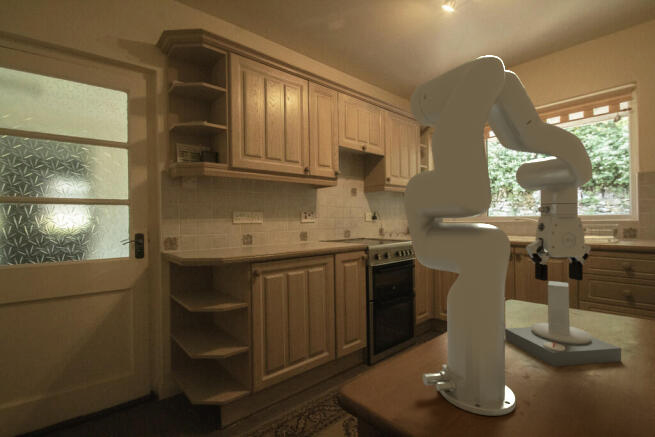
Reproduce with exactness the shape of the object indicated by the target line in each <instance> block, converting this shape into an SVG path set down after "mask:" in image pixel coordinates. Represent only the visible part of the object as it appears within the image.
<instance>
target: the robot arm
mask: <svg viewBox="0 0 655 437" xmlns="http://www.w3.org/2000/svg"><path fill="white" fill-rule="evenodd" d="M409 109H410V112H411V114H412V117H413V118H414V119H415V121H416V122H418V124H420V125H423V126H425V127H431V128H433V131H432V135H431V140H430V141H431V142H430V147H431V153H432V162H433V169H431V170H425V171H422V172H419V173H416V174H414V175H413V176H412V177H411V178H410V179H409V180H408V182H407V184H406V186H405V189H404V194H403V201H404V202H403V204H404V205H403V206H404V209H405V210H404V211H405V215H406V219H407V220H406V221H407V225H408V231H409V235H410V240H411V244H412V248H413V253H414V254H415V255H414V256H415V257H416V259H417V261H418V262H419V263H420V264H421V266H424V267H426V268H428V269H431V270H432V269H433V270H438V271H444V272H452V273H455V274H458V276H457V278H456V279H455V281H454V282H453V284H452V285H451V287H450V288H449V290H448V293H447V296H446V321H447V322H446V324H447V326H446V327H447V328H446V329H447V331H446V332H447V333H446V334H447V336H446V337H447V342H446V343H447V344H446V345H447V350H446V351H447V364H442V365H441V368H442V370H439V371H438V372H435V373H434V372H429V373H423V374H422V382H423V384H424V385H425V386H434V385H435V389H436V390H437V391H438V392H440V394H441V395H442V396H443V397H444V399H445V400H447V401H448V402H449V403H450V404H452V405H454V406H455V407H458V408H459V409H462V410H464V411H467V412H470V413H473V414H477V415H483V416H492V417H493V416H494V417H495V416H503V415H504V416H505V415H507V414H509V413H511V412H512V411H514V410H515V408H516V404H517V403H516V399H517V398H516V395H515V393H514V392H513V391H512V389H510V387H508V386H507V385H506V340H505V329H506V328H505V323H506V313H505V314H504V297H505V291H506V280H507V278H506V277H507V272H508V267H509V262H510V258H511V257H510V256H511V242H510V239H509V236H508V235H507V234H506V232H505V231H504V230H502V229H501V228H499V227H497V226H495V225H492V224H487V223H478V222H455V223H453V222H450V223H448V222H446V223H445V222H444V220H443V219H467V218H469V219H470V218H475V217H479V216H482V215H484V214H485V213H487V212H488V211H489V209H490V208H491V204H492V197H493V196H492V186H491V180H490V174H489V168H488V162H487V160H488V159H487V154H486V153H487V152H486V149H485V148H486V146H485V137H484V135H485V134H484V133H485V126H486V124H487V126H488V127H489V128H490V130H491V131H492V133H493V134H494V136H495V137H496V139H497V140H498V142H499V143H500V145H501V146H502V147H503V148H505V149H508V150H511V151H515V152H521V153H527V154H528V153H529V154H538V155H545V156H549V157H545V158H540V159H533V160H529V161H525V162H524V163H522V164H521V165H519V167H518V168H517V170H516V173H515V179H516V180H515V181H516V182H517V185H518V186H520V188H521V189H523V190H526V191H529V192H533V191H534V192H535V191H540V206H539V207H538V208H537V211H538V212H539V213H540V217H538V220H537V225H536V230H535V231H536V232H535V241H533V242H530V244H528V245H526V246H525V249H526V251H527V253H528V257H529V258H530V259H531V260H532V263H533V264H534V279H536V280H539V281H544V282H548V279H549V277H548V276H549V275H548V274H549V273H548V272H549V271H548V270H549V269H548V268H549V266H548V264H546V263H547V262H548V260H549V259H550V258H568V260H569V261H570V262H569V263H568V278H569V279H571V280H575V281H583V279H584V278H583V277H584V276H583V274H584V272H583V270H584V268H583V267H584V265H585V264H586V260H588V258H589V254H590V251H591V250H592V247H591V246H590V245H588V244H586V243H585V232H584V226H583V222H582V219H581V217H579V215H578V214H579V212H578V210H579V207H578V206H579V204H578V202H579V201H578V200H579V198H578V196H579V188H580V187H584V186H585V185H587V184H588V183H590V181H591V179H592V177H593V171H594V170H593V164H592V161H591V158H590V156H589V153H588V151H587V150H586V146H585V145H584V143H583V142H582V140H581V139H580V138H579V137H578V136H577V135H575V134H574V133H572V132H570V131H569V130H567V129H564V128H562V127H560V126H557V125H555V124H552V123H549V122H546V121H543V120H542V118H541V117H540V115H539V113H538V110H537V109H536V107H535V106H534V104H533V101H532V100H531V98H530V96H529V94H528V92H527V90H526V89H525V86H524V85H523V83H522V81H521V79H520V77H519V76H518V75H517V74H516V73H515V72H513V71H511V70H506V68H505V65H504V62H503V60H502V59H501V58H500V57H498V56H495V55H485V56H484V55H483V56H480V57H477V58H474V59H472V60H470V61H467V62H465V63H463V64H460V65H458V66H456V67H454V68H451V69H450V70H448V71H446V72H443V73H441V74H440V75H438V76H436V77H433V78H431V79H429V80H427V81H425V82H423V83H421V84H420V85H418V86H417V87H416V88H415V89H414V90H413V93H412V94H411V96H410V100H409Z"/></svg>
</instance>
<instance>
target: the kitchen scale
mask: <svg viewBox="0 0 655 437" xmlns="http://www.w3.org/2000/svg"><path fill="white" fill-rule="evenodd" d="M505 341H506V342H508V343H511V344H512V345H514V346H516V347H518V348H519V349H522V351H525V352H526V353H529V354H530V355H532V356H534V357H536V358H538V359H539V360H541V361H543V362H545V363H546V364H548V365H551V366H552V367H554V368H555V367H565V366H566V367H568V366H580V365H592V364H605V363H617V362H618V363H619V362H622V348H621V347H619V346H617V345H614V344H612V343H609V342H606V341H604V340H601V339H598V338H595V337H594V336H592V335H591V334H590V333H589V332H587V331H585V330H583V329H581V328H578V327H574V326H571V325H570V334H569V336H565V335H560V334H554V333H549V330H548V322H536V323H533V324H532V325H530V326H527V327H524V326H523V327H510V328H509V327H508V328H505Z"/></svg>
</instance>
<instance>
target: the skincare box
mask: <svg viewBox="0 0 655 437" xmlns="http://www.w3.org/2000/svg"><path fill="white" fill-rule="evenodd" d="M547 282H548V283H547V317H548V319H547V320H548V322H547V323H548V330H549V333H554V334H560V335H565V336H569V334H570V326H571V325H570V323H571V322H570V297H569V296H570V294H569V293H570V289H569V286H570V285H569V283H568V282H564V281H562V282H561V281H554V280H549V281H547Z"/></svg>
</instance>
